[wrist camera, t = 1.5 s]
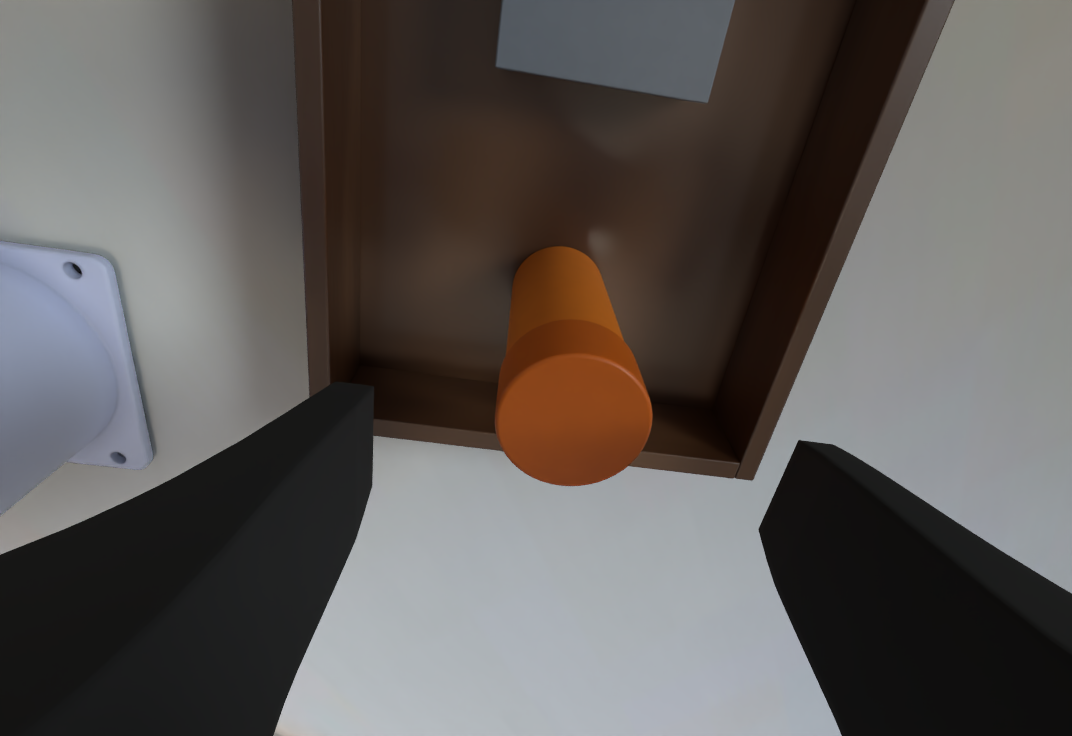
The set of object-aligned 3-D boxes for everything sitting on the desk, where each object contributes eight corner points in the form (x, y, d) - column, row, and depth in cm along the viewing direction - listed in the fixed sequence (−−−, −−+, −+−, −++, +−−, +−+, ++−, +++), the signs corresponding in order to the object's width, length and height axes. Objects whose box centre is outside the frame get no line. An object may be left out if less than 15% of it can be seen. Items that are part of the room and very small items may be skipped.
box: (346, 370, 19) (309, 428, 16) (341, -245, 12) (274, -357, 9) (719, 418, 20) (753, 481, 17) (914, -125, 13) (1035, -188, 10)
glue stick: (503, 327, 18) (485, 479, 11) (515, 234, 16) (504, 343, 10) (595, 340, 18) (633, 496, 11) (615, 249, 17) (671, 366, 10)
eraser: (499, 69, 14) (494, 67, 13) (512, -55, 13) (509, -76, 11) (686, 100, 15) (708, 104, 13) (716, -17, 13) (743, -31, 12)
